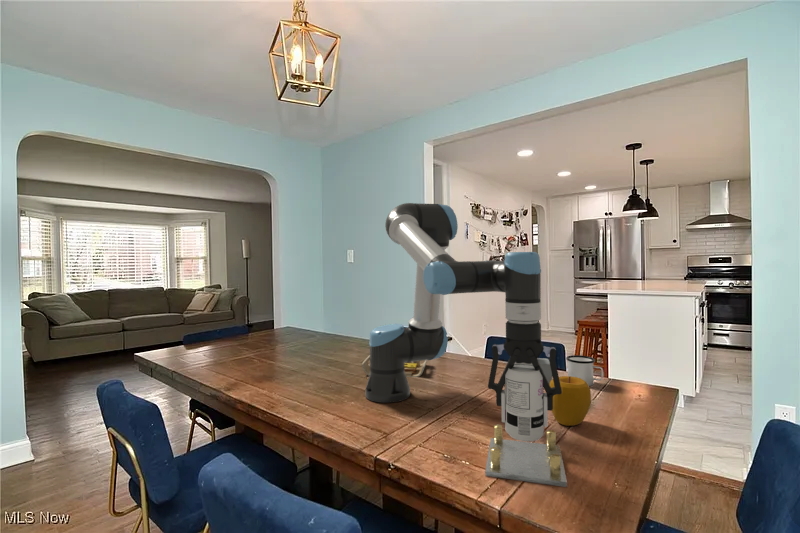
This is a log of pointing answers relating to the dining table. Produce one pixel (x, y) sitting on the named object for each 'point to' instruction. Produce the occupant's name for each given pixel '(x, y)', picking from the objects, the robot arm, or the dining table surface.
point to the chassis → (525, 460)
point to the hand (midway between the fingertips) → (524, 421)
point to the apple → (571, 401)
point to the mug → (582, 368)
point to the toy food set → (410, 368)
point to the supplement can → (524, 403)
